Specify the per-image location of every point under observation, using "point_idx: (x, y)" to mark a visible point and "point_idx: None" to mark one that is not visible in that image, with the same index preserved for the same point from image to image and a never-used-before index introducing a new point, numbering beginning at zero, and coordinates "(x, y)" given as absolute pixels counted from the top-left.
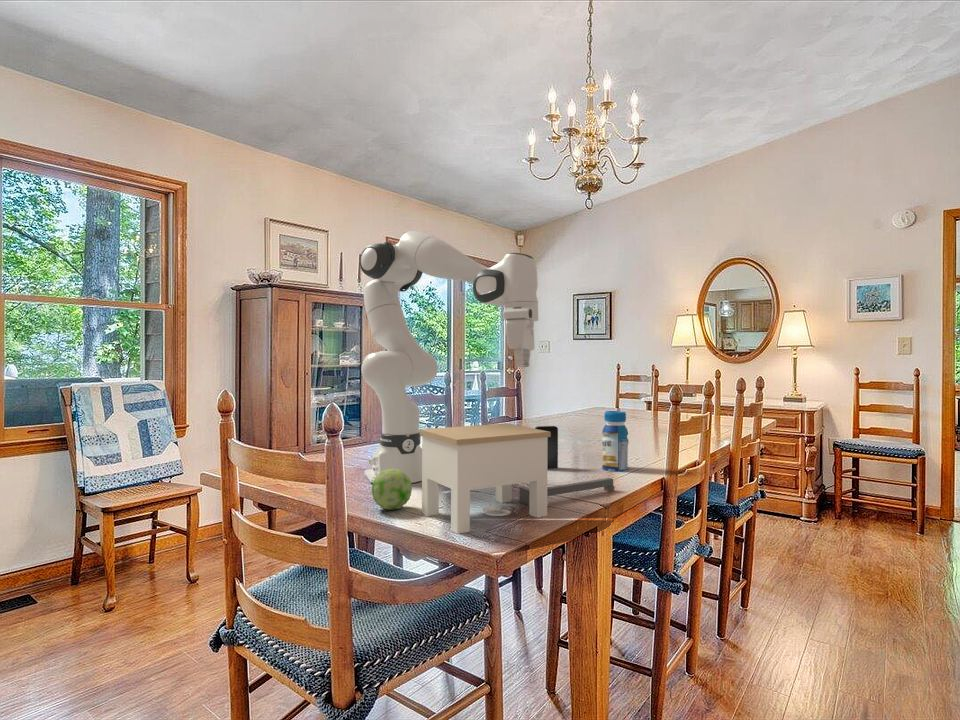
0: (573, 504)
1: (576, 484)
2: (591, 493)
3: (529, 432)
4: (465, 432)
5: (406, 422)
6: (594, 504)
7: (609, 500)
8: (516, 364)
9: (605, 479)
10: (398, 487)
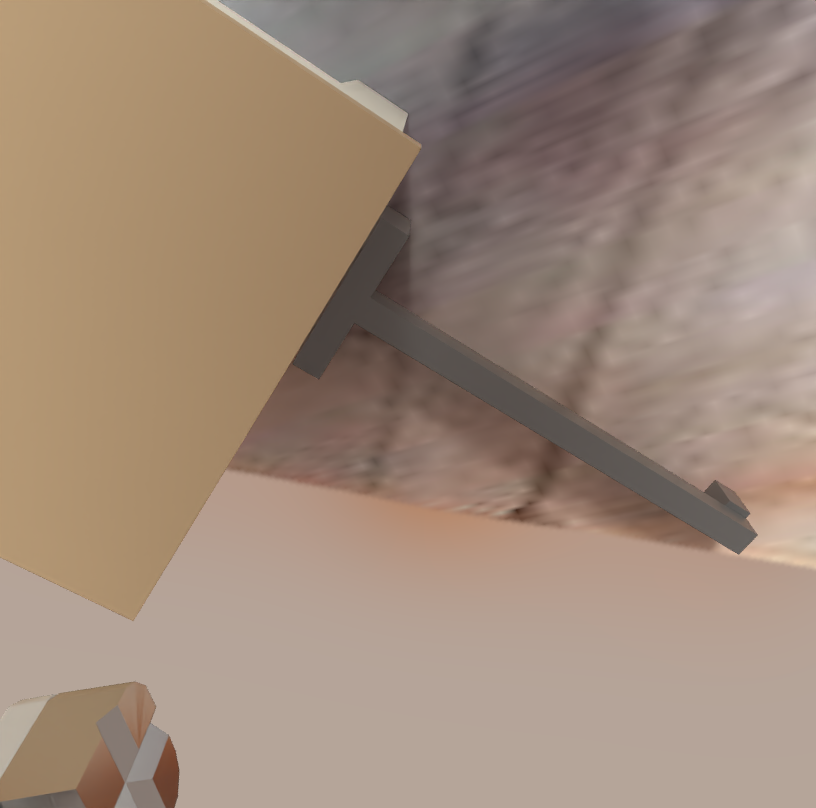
0: (481, 418)
1: (559, 444)
2: (702, 434)
3: (13, 526)
4: None
5: None
6: (518, 488)
7: (606, 522)
8: (1, 749)
9: (715, 528)
10: None
